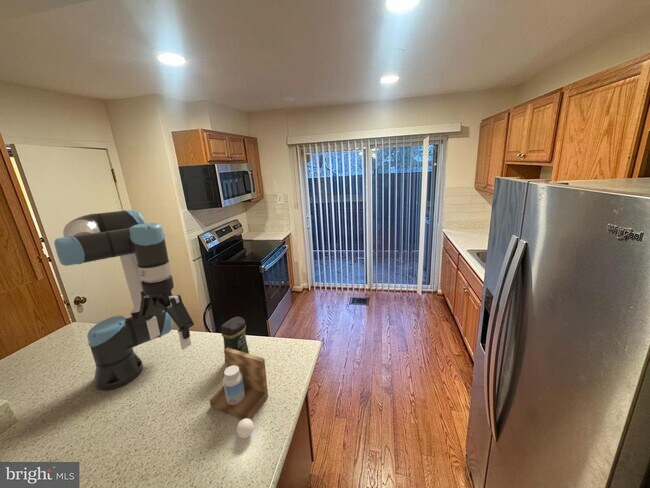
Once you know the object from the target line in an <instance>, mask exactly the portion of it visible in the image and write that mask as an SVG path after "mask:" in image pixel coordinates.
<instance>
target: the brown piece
mask: <svg viewBox="0 0 650 488" xmlns="http://www.w3.org/2000/svg"><path fill="white" fill-rule="evenodd" d="M223 352H224V362H225V361H226V363H225V366H226V368H228V367H230V366H234V365H235V366H238V367H239V371H240V372H241V374H242V377H243V383H244V390H245V397H244V399H243V400H242V401H241V402H240V403H238V404H235V405H231V404H228V403H227V401H226V396H225V390H224V384H223V385H222V386H221V387H220V388H219V389H218V390H217V391H216V393H214V395H212V396H211V397H210V398H209V405H210V408H212V409H215V410H218V411H219V412H222V413H224V414H227V415H229V416H232V417H235V418H236V419H239V420H240V421H241V420H243V419H245V418H248V419H251V420H253V418H254V416H256V414H257V413H258V411H259V410H260V409H261V407H262V406H263V405H264V403H265V402H266V401H267V399H268V398H269V389H268V380H267V371H266V361H265V358H264V357H261V356H257V355H254V354H251V353H249V354H248V353H244V352H241V351H238V350H234V349H231V348H226V349H225V350H224V349H223Z"/></svg>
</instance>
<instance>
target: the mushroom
mask: <svg viewBox="0 0 650 488" xmlns="http://www.w3.org/2000/svg"><path fill="white" fill-rule="evenodd" d="M254 428H255V426H254V421H253V419H248V418H245V419H243V420H241V419H240V420H239V422H238V424H237V425H236V433H237V435H238V436H239V438H241V439H247V438H249V437H250V436H251V435H252V434H253V432H254Z"/></svg>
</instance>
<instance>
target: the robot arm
mask: <svg viewBox="0 0 650 488" xmlns="http://www.w3.org/2000/svg"><path fill="white" fill-rule="evenodd" d="M62 233H63V236H62V237H58V238H56V239H55V240H54V242H53V243H54V248H55V251H56V255H57V258H58V261H59V263H60V264H61V265H62V266H64V267H67V266H74V265H82V264H86V263H90V262H91V263H92V262H96V261H101V260H105V259H110V258H111V259H112V258H116V257H119V259H120V262H121V265H122V270H123V273H124V278H125V280H126V284H127V286H128V287H127V288H128V290H129V295H130V299H131V301H132V305H133V308H132V309H131V311H130V316H131V317H127V318H126V317H125V316H123V315H117V316H112V317H111V316H110V317H108V318H105V319H104V320H101V321H99V322H97V323H96V324H95V325H94V326H92V327H91V328H90V329H89V330H88V332H87V341H88V344H87V345H88V346H89V347H90V351H91V353H92V357H93V360H94V363H95V364H94V365H95V366H96V367H95V371H94V377H93V382H94V385H95V388H96V389H97V390H99V391H111V390H114V389H115V390H116V389H118V388H121V387H123V386H125V385H127V384H129V383H131V382H133V381H134V380H135V379H136V378H138V376H139V375H140V374H141V373H142V372H143V370H144V364H143V361H142V359H141V358H140V357H139V356H138V355H137V354H136V352H135V351H134V348H135V347H137V346H140V345H142V344H145V343H148V342H150V341H153V340H155V339H158V338H159V339H160V338H162V337H163V336H166V335H168V334H169V333H171V331H172V329H173V322H174V323H175V325H176V326H177V327H178V329H177V333H178V337H179V342H180V349H181V350H186V349H187V348H188V347H190V346H191V345H192V341H191V334H190V333H191V332H190V328H191V327H193V326H194V325H195V324H194V321H193V319H192V317H191V316H190V314H189V312H188V310H187V308H186V306H185V305H184V302H183V300H182V297H181V294H177V295H173V293H172V290H173V289H174V287H175V285H174V279H173V276H172V269H171V264H170V260H169V255H168V249H167V244H166V240H165V237H166V235H165V233H164V231H163V226H162V225H161V224H160V223H156V222H146V221H145V218H144V216H143V215H142V213H141V212H139V210H134V209H133V210H132V209H131V210H117V211H110V212H101V213H90V214H86V215H82V216H80V217H79V216H78V217H77V218H75V219H73V220H71V221H70V222H68V223H66V225H65V226H64V228H63V231H62Z"/></svg>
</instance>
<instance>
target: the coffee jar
mask: <svg viewBox="0 0 650 488" xmlns="http://www.w3.org/2000/svg"><path fill="white" fill-rule="evenodd" d="M246 329H247V326H246V320H245V319H244V318H243V317H240V316H235V317H232V318H230V319H229V320H228V321H226V322H225V323H223V324H222V325H221V327H220V333H221V336H222V338H223V346H224V347H223V351H224V350H225V349H226V348H231V349H234V350H238V351H241V352H244V353H248V354H250V351H249V346H248V344H247V343H248V341H247V337H246ZM224 363H225V364H226V361H225V360H224Z"/></svg>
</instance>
